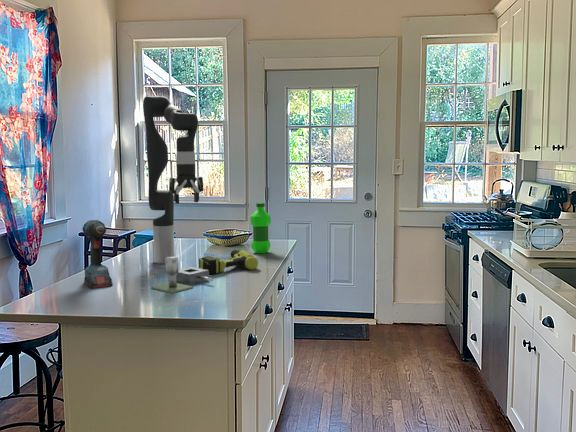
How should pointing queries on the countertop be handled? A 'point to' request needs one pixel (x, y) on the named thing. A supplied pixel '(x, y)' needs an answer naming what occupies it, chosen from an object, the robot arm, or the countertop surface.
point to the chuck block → (192, 275)
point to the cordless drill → (228, 262)
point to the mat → (171, 288)
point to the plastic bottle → (260, 229)
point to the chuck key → (172, 270)
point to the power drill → (96, 256)
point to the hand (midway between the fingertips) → (186, 202)
